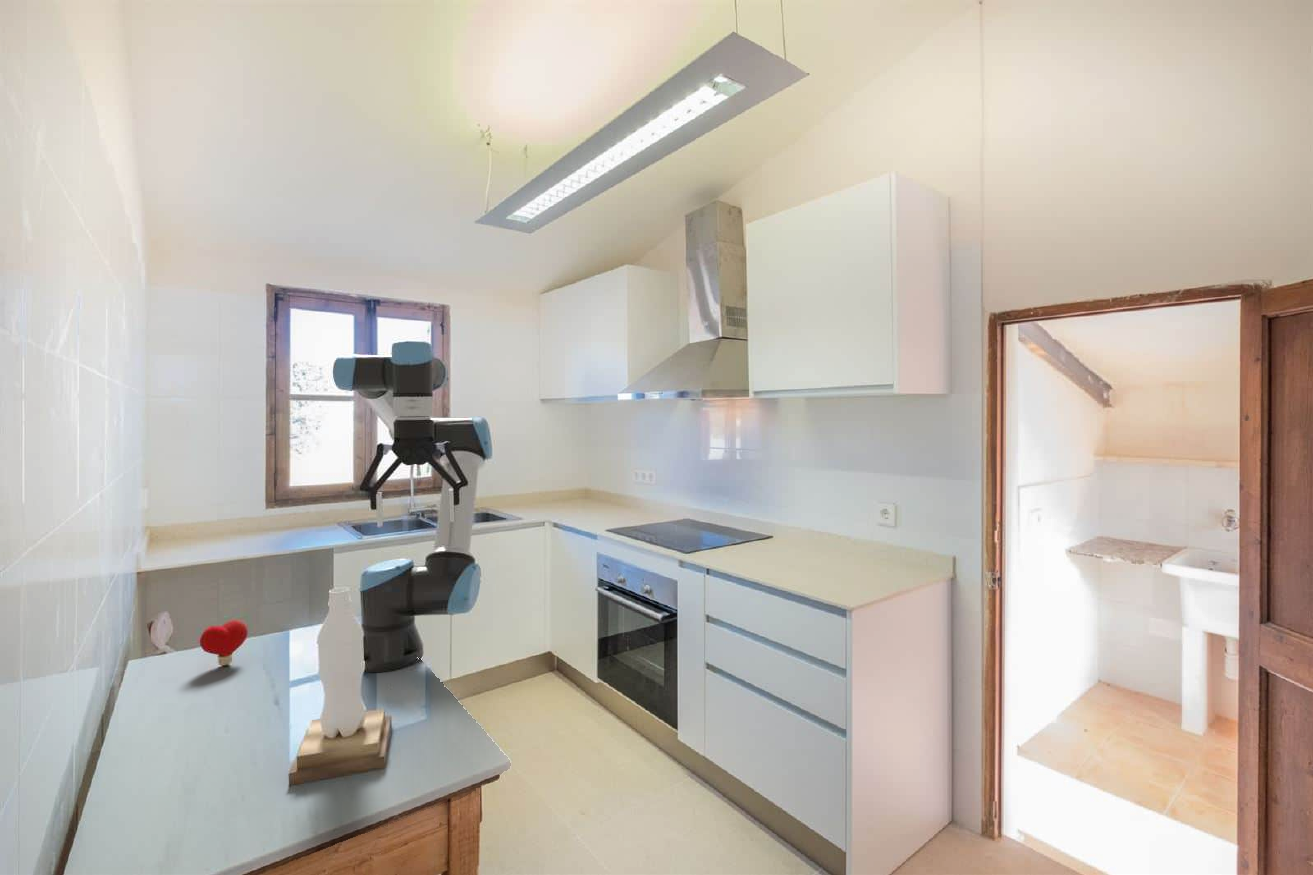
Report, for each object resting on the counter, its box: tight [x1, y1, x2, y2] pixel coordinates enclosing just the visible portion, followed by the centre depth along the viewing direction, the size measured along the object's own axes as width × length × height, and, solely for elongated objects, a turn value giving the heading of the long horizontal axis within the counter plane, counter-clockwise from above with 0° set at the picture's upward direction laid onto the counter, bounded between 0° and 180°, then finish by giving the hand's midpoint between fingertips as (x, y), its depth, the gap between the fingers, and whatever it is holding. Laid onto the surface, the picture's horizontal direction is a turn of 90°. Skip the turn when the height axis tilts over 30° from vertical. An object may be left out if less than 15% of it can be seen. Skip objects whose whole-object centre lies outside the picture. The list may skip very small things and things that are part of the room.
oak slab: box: [296, 708, 386, 769], centre depth 105 cm, size 12×12×2 cm
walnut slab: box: [288, 715, 393, 786], centre depth 105 cm, size 14×14×2 cm
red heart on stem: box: [199, 620, 248, 667], centre depth 141 cm, size 9×7×10 cm
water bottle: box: [316, 586, 367, 738], centre depth 105 cm, size 7×7×25 cm
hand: (416, 523), depth 122 cm, fingers open, 13 cm apart
